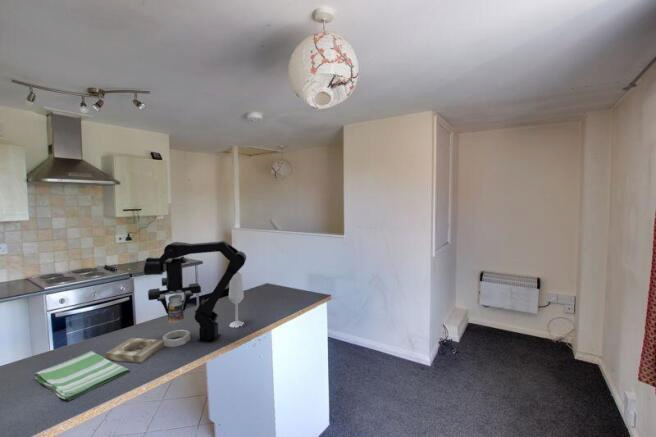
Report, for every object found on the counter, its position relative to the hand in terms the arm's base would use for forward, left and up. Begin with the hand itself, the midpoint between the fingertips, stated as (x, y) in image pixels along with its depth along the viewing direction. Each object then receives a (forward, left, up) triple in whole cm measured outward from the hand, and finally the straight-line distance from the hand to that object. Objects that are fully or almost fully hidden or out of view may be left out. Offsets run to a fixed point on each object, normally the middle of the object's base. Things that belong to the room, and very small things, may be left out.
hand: (175, 312), depth 124 cm
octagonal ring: (0, 0, -12) cm, 12 cm away
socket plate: (+9, +11, -12) cm, 19 cm away
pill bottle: (0, 0, -4) cm, 4 cm away
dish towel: (+15, +27, -13) cm, 33 cm away
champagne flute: (-17, -19, -12) cm, 28 cm away
